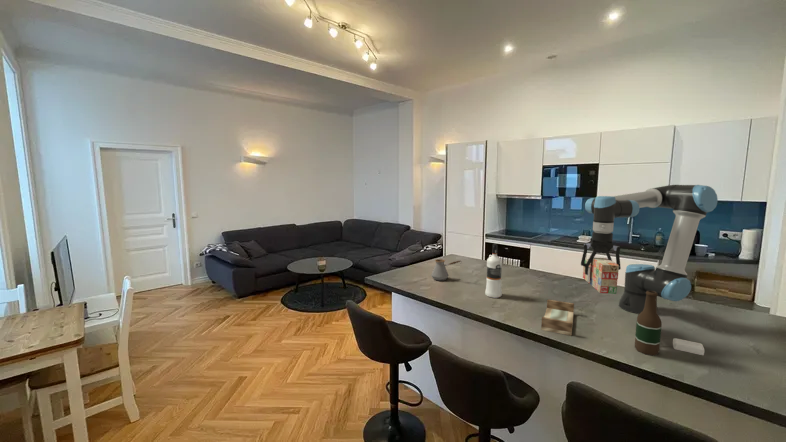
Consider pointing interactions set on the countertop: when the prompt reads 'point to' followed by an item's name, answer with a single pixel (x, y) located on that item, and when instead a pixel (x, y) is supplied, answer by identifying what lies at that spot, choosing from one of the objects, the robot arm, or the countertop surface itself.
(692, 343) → the soap
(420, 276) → the countertop surface
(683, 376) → the countertop surface
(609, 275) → the stack of blocks
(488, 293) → the vodka
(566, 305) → the cradle
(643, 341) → the beer bottle
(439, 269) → the coffee pot
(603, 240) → the robot arm
